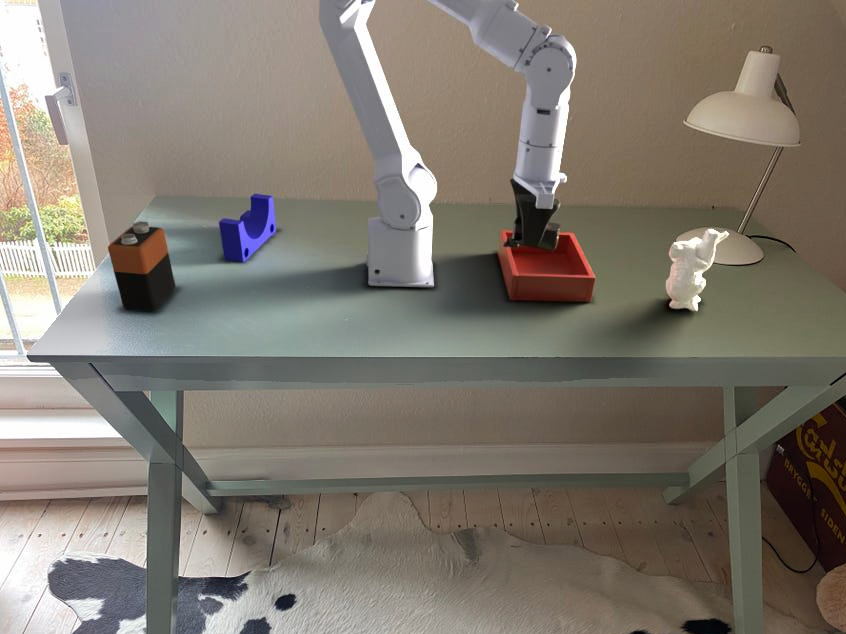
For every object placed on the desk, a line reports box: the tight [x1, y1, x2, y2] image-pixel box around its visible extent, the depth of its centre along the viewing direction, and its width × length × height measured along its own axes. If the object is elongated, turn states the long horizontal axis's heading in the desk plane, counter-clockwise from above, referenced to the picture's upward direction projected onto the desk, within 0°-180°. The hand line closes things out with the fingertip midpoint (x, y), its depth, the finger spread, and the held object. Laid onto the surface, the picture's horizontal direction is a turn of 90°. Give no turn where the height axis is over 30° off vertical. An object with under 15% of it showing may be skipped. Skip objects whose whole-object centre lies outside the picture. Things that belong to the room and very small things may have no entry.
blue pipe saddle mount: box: [218, 193, 277, 263], centre depth 102 cm, size 12×4×6 cm, turn 171°
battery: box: [107, 220, 176, 312], centre depth 85 cm, size 4×7×10 cm, turn 178°
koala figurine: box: [665, 228, 730, 312], centre depth 96 cm, size 8×7×12 cm
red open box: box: [497, 230, 596, 303], centre depth 102 cm, size 12×16×4 cm
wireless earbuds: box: [503, 216, 561, 251], centre depth 92 cm, size 5×7×3 cm, turn 76°
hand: (528, 238), depth 93 cm, fingers closed on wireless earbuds, 4 cm apart
